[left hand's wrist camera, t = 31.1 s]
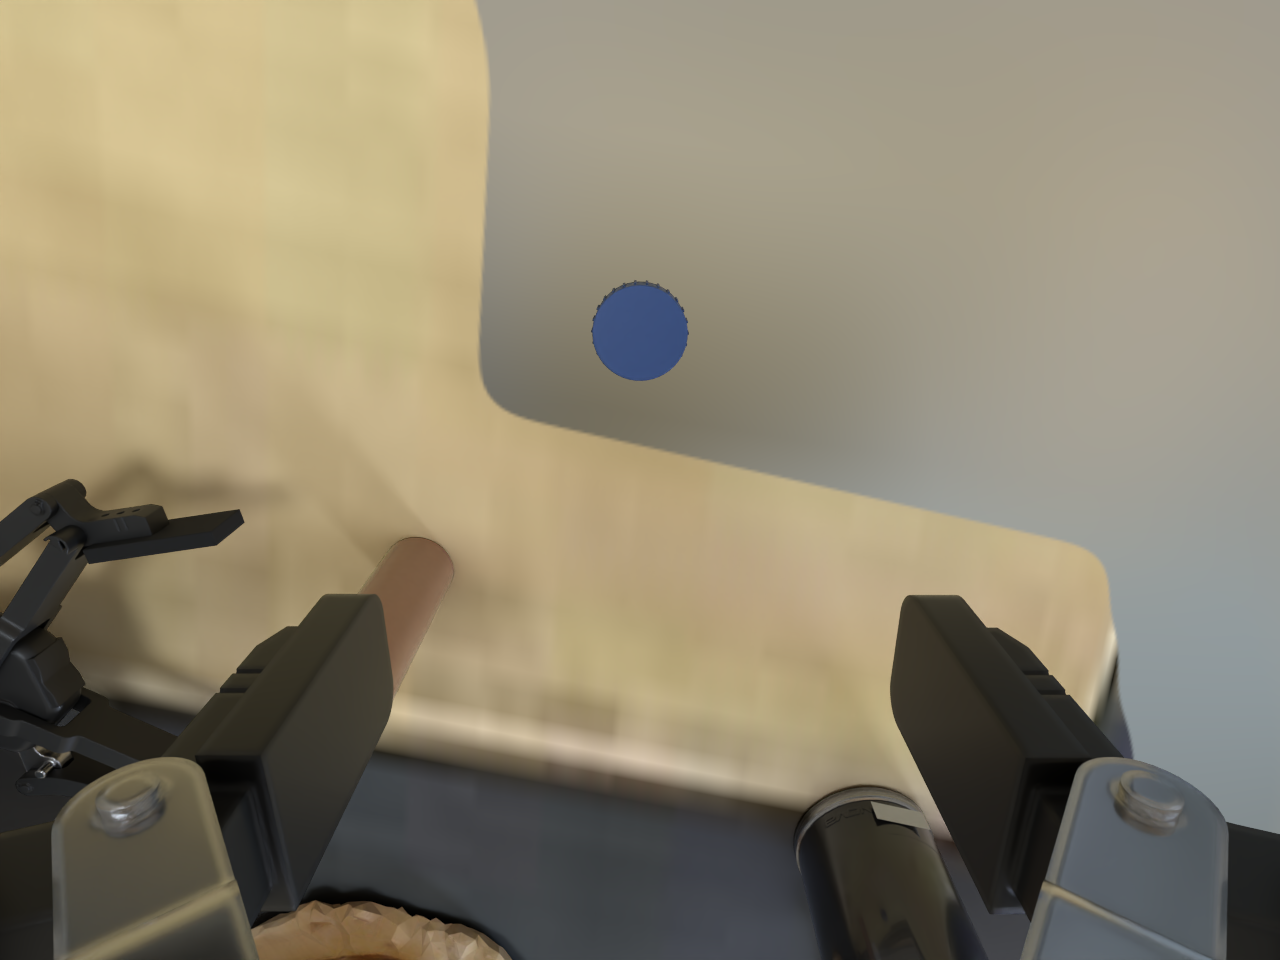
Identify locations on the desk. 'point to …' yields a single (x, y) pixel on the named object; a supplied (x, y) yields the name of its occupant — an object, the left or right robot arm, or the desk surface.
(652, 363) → the lid
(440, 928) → the sculpture
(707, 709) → the desk surface
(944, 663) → the left robot arm
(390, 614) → the brown cylindrical tube
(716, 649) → the desk surface
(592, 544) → the desk surface
